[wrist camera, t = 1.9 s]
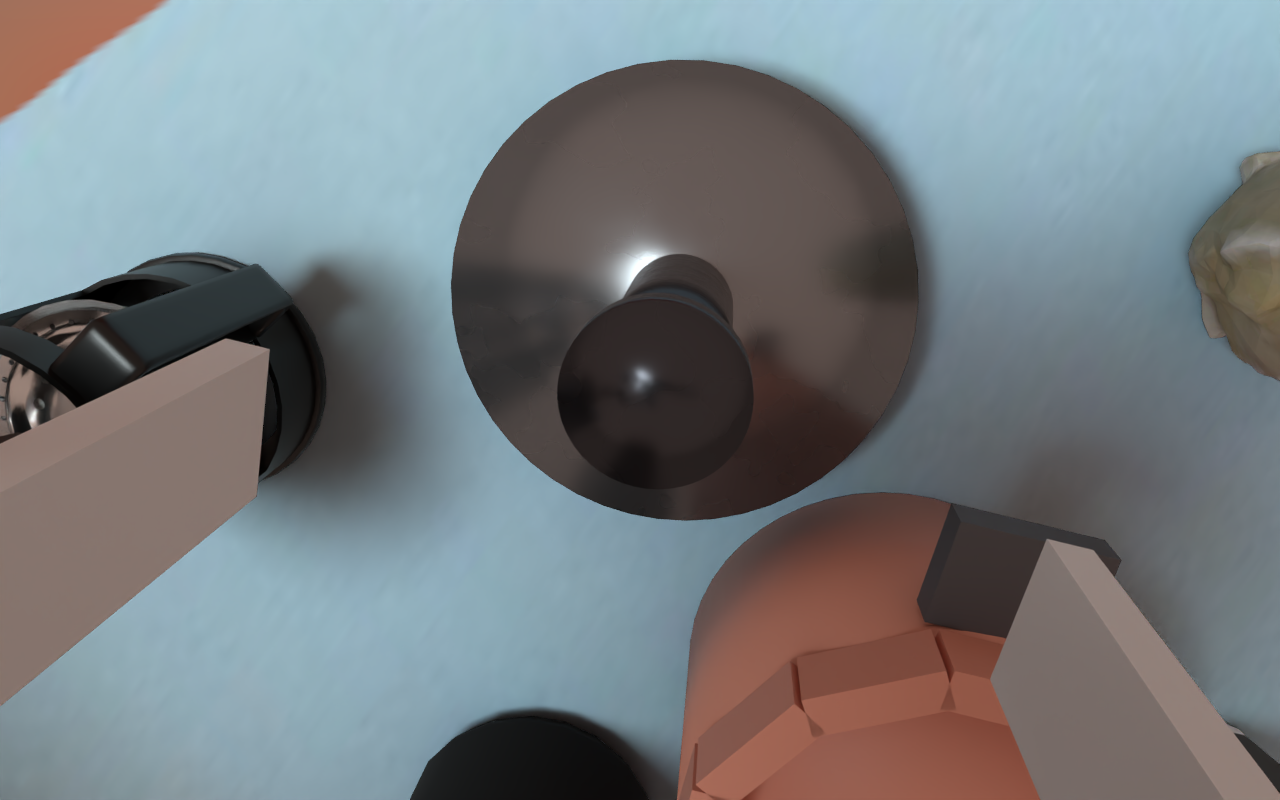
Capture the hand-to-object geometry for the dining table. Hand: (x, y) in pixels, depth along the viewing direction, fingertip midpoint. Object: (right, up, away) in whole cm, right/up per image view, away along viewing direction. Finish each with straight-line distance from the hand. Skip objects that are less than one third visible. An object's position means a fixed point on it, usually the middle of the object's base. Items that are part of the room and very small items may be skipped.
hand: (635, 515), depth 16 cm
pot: (+10, -9, +22) cm, 26 cm away
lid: (+2, +6, +18) cm, 19 cm away
